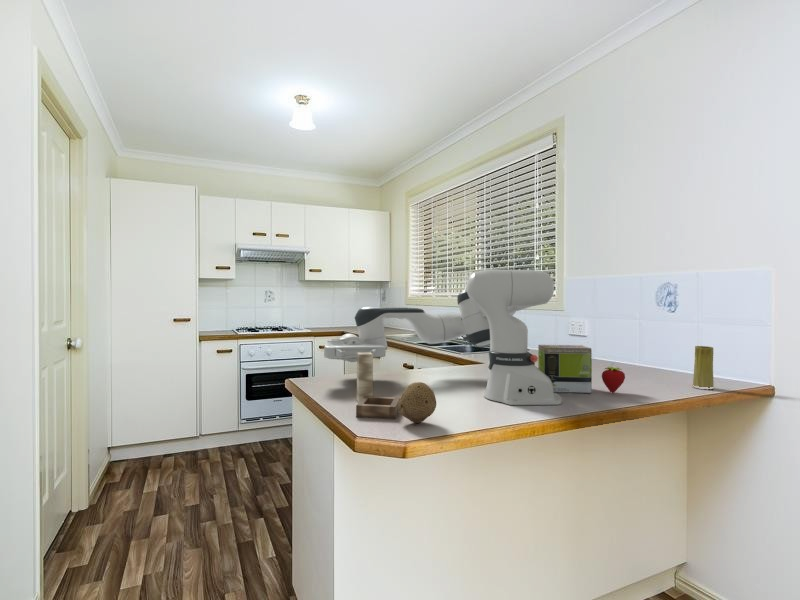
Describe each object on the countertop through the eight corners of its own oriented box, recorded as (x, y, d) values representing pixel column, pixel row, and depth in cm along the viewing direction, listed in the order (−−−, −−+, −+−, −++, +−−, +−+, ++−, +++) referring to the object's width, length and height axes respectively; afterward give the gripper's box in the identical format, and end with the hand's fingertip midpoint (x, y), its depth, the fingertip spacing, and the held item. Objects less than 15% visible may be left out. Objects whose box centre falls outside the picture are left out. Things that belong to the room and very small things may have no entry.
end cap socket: (399, 408, 123) (400, 397, 123) (395, 418, 113) (395, 406, 113) (363, 407, 124) (363, 396, 124) (356, 417, 114) (356, 405, 114)
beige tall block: (370, 399, 132) (370, 352, 132) (372, 403, 129) (373, 354, 128) (356, 400, 131) (357, 352, 131) (358, 403, 128) (359, 354, 127)
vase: (718, 390, 152) (719, 348, 152) (699, 390, 152) (700, 347, 152) (706, 386, 158) (707, 345, 158) (688, 386, 158) (689, 345, 158)
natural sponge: (444, 425, 107) (444, 384, 107) (412, 431, 103) (413, 387, 103) (423, 416, 115) (424, 377, 115) (393, 421, 111) (393, 380, 111)
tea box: (582, 387, 154) (583, 344, 154) (591, 394, 144) (592, 348, 144) (537, 386, 155) (538, 343, 155) (543, 392, 145) (544, 346, 145)
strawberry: (629, 394, 144) (630, 363, 144) (609, 395, 142) (609, 363, 142) (616, 390, 150) (617, 360, 150) (596, 391, 148) (597, 360, 148)
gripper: (381, 357, 158) (389, 363, 144) (322, 358, 153) (325, 364, 140) (382, 339, 158) (390, 343, 144) (323, 339, 153) (325, 344, 139)
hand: (357, 354), depth 142 cm, fingers open, 8 cm apart
